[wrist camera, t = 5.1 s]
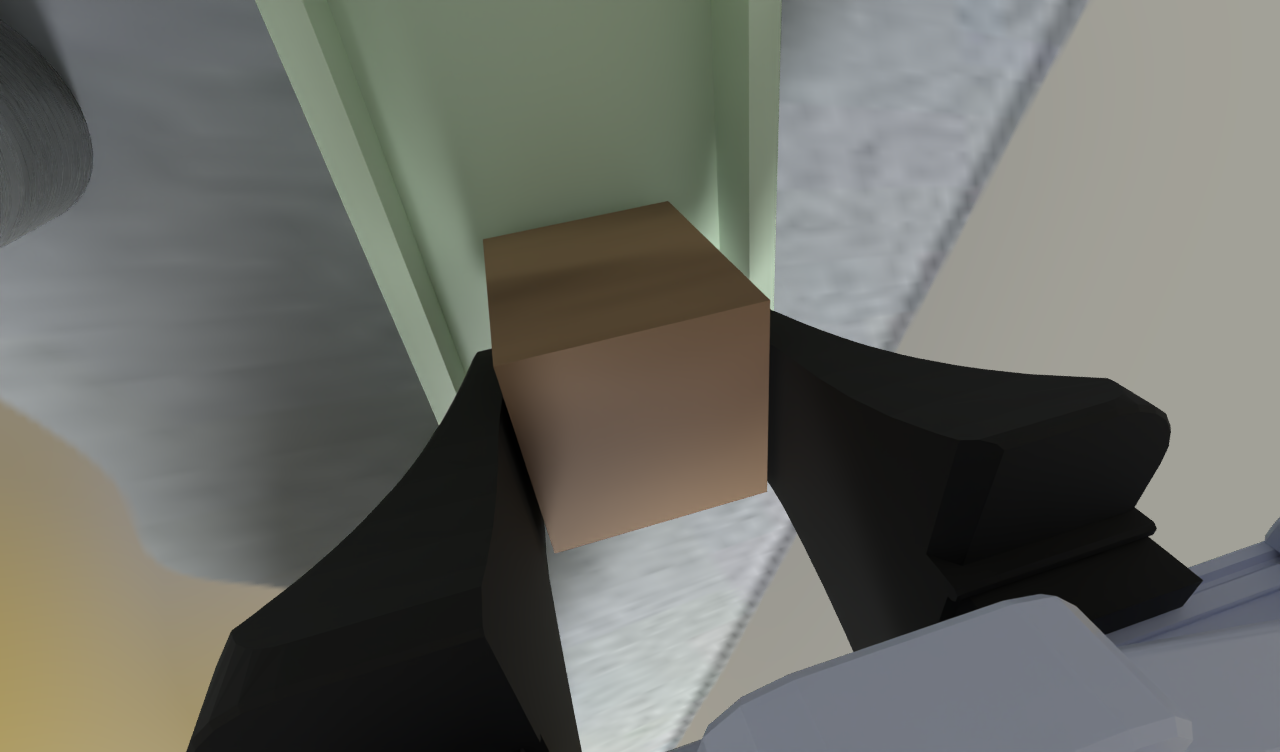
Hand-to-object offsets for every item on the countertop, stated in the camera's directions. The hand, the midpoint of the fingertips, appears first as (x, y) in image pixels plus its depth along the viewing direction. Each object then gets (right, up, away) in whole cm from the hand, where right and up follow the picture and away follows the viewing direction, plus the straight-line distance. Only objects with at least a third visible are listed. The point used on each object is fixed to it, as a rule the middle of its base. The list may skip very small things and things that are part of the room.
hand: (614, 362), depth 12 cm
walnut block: (0, +1, +1) cm, 2 cm away
